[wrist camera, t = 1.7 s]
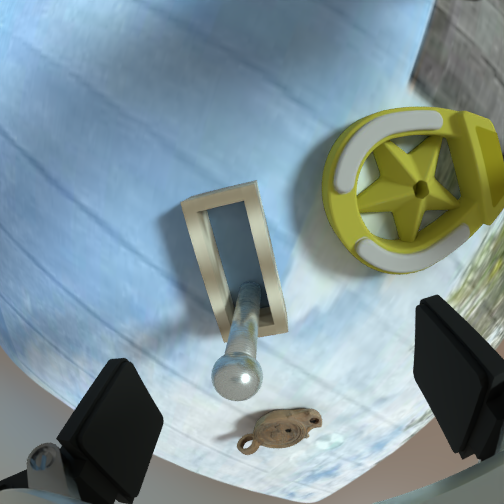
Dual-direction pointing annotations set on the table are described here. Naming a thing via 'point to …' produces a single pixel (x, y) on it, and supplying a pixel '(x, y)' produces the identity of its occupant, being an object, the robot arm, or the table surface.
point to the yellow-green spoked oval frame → (413, 185)
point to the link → (211, 265)
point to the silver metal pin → (241, 349)
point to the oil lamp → (281, 429)
